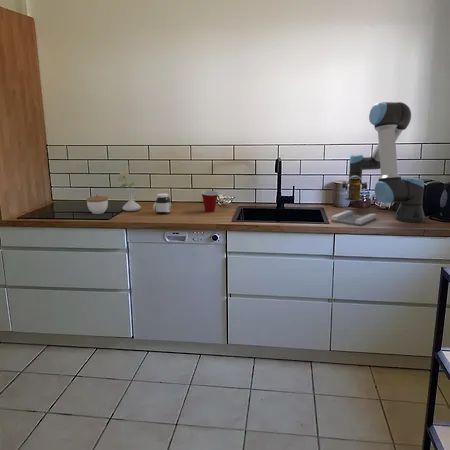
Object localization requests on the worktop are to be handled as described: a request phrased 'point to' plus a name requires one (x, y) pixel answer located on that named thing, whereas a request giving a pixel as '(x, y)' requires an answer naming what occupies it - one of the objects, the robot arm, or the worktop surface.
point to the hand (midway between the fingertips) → (354, 188)
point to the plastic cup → (209, 200)
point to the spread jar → (162, 204)
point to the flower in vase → (131, 204)
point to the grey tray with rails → (352, 218)
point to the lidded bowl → (97, 204)
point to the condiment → (354, 189)
